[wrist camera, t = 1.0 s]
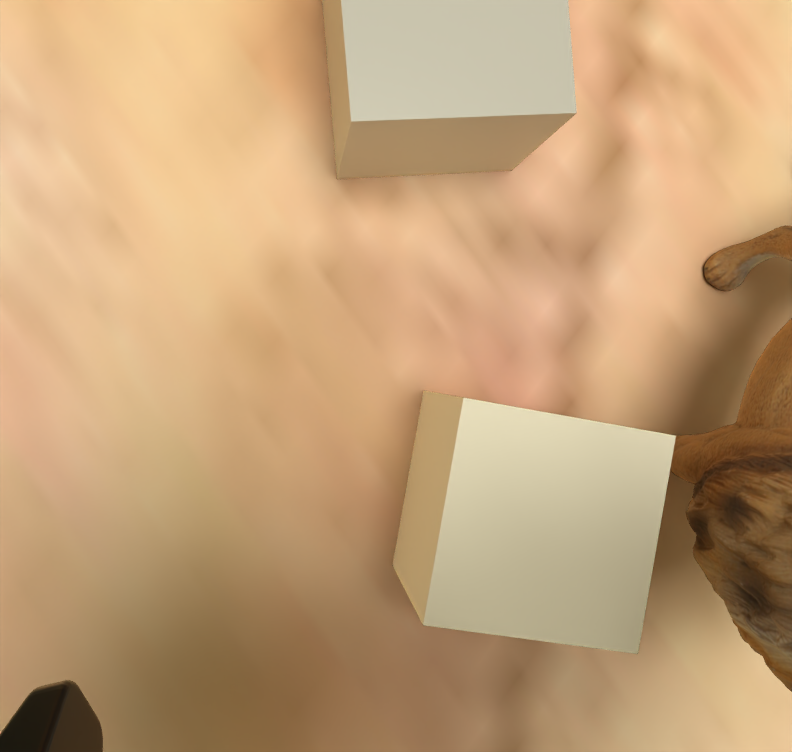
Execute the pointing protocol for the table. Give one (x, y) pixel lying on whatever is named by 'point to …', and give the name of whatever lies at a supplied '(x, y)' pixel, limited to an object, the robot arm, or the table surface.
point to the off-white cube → (531, 523)
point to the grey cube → (445, 83)
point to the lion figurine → (749, 481)
